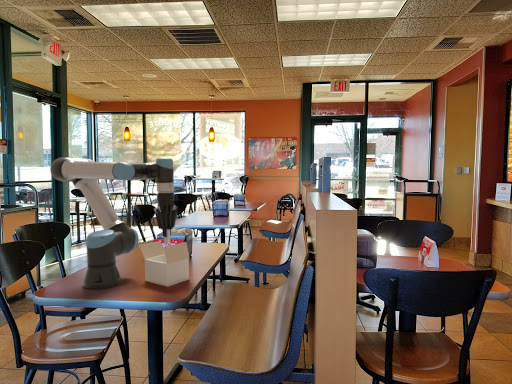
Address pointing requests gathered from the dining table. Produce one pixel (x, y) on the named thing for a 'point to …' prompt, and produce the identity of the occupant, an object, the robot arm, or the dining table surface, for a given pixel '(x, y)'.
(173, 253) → the near flap
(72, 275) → the dining table surface
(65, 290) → the dining table surface
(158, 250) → the far flap
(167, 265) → the carton
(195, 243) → the dining table surface
